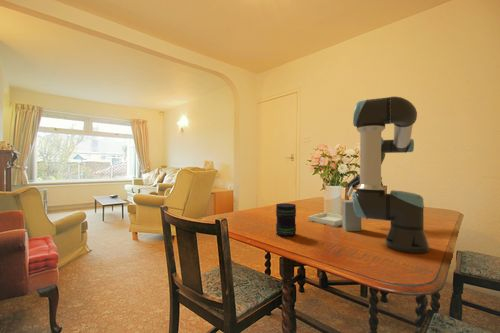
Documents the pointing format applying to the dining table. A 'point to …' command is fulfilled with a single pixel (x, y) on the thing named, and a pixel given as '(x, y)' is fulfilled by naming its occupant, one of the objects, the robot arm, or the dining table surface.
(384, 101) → the robot arm
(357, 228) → the skincare box
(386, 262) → the dining table surface
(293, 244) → the dining table surface
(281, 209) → the storage jar
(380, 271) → the dining table surface
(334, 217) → the sage tray
